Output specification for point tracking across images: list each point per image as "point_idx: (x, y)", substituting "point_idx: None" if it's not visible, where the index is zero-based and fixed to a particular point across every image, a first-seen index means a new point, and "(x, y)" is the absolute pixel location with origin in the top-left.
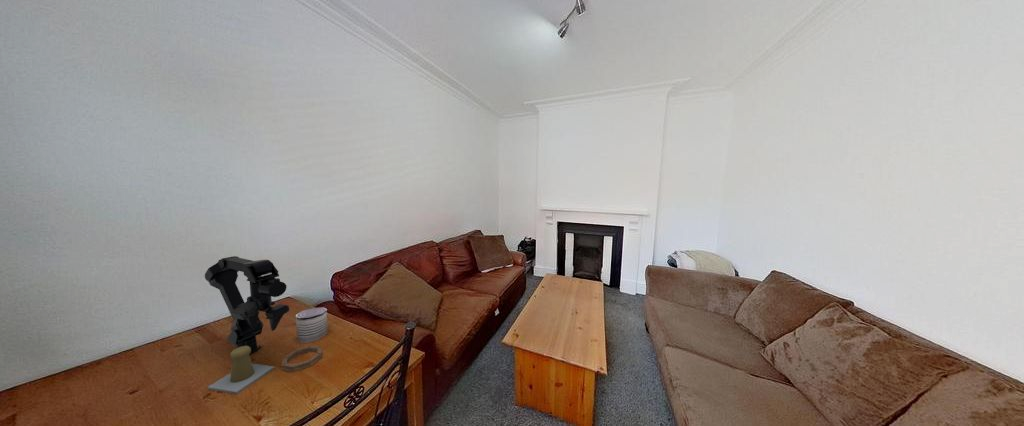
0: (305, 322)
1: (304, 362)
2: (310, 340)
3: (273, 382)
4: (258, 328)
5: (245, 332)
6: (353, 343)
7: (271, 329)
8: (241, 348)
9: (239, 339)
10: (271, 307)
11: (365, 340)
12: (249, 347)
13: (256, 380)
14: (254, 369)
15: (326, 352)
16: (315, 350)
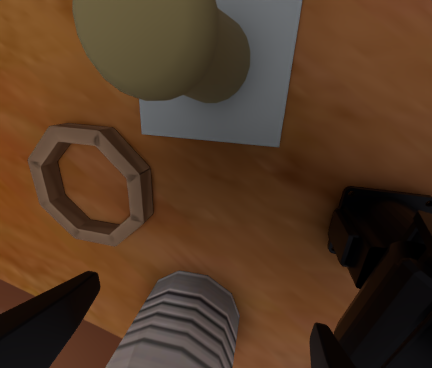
0: (132, 358)
1: (39, 153)
2: (167, 278)
3: (74, 61)
4: (341, 336)
5: (391, 289)
6: (37, 259)
7: (81, 279)
8: (111, 16)
9: (420, 245)
10: None
11: (22, 270)
12: (102, 75)
13: None
14: (202, 108)
15: None
16: (92, 224)
